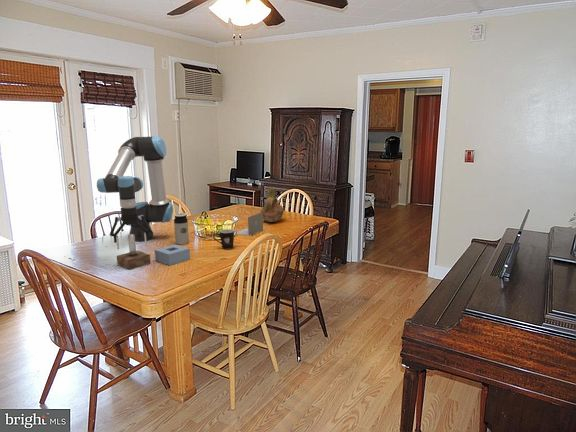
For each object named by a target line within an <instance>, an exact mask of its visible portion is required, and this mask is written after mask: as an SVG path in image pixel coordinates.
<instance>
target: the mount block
mask: <svg viewBox="0 0 576 432" xmlns="http://www.w3.org/2000/svg"><path fill="white" fill-rule="evenodd" d="M136 255H137V256H133V257H130V251H129V252H126V253H125V252H124V253H122V254H117V255H116V265H117V266H119V267H121V268H124V269H127V270H130V271H131V270H134V269H137V268H140V267H144V266H147V265H150V264H151V255H150V253H146V252H144V251H141V250H137V249H136Z"/></svg>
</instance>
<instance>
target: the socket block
mask: <svg viewBox="0 0 576 432" xmlns="http://www.w3.org/2000/svg"><path fill="white" fill-rule="evenodd" d="M154 256H155V257H154V259H155V261H156V262H159V263H161V264H164V265H167V266H173V265H176V264H179V263H182V262H185V261H188V260H191V251H190V248H189V247H185V246H183V245H179V244H176V243H174V244H171V245H167V246H164V247H161V248H157V249H154Z"/></svg>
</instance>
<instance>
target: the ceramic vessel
mask: <svg viewBox="0 0 576 432" xmlns="http://www.w3.org/2000/svg"><path fill="white" fill-rule="evenodd" d="M266 191H267V192H266V195H267V198H266V199H265V202H264V206H263V207H262V208H261V209H260V211H259V213H261V212H263V221H265V222H268V223H276V222H278V221H280V219H282V217H283V215H284V214H283V213H284V212H285V211H284V206H282V204H279V203H278V201H279V199H278V197H277V188H275V187H273V188H267V190H266Z"/></svg>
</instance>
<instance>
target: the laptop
mask: <svg viewBox="0 0 576 432" xmlns="http://www.w3.org/2000/svg"><path fill="white" fill-rule="evenodd" d="M260 212H261V211H260ZM260 212H259V213H255V214H253V215H250V216H248V217H247V227H245V228H244V229H241V230H239V231H236V232H237V234H236V235H238V236H246V237H249V236H251V235H254V234H257V233H259V232H261V231H263V230H264V219H263V212H261V213H260Z"/></svg>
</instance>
